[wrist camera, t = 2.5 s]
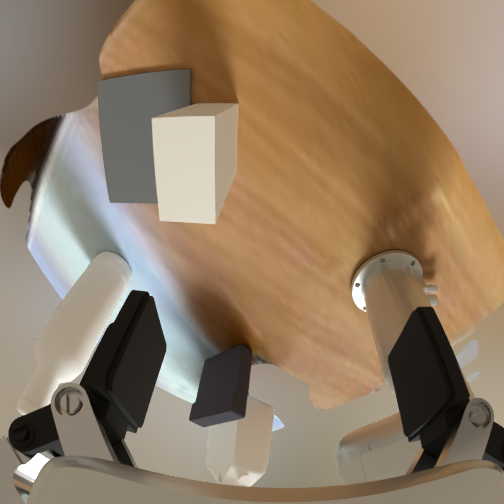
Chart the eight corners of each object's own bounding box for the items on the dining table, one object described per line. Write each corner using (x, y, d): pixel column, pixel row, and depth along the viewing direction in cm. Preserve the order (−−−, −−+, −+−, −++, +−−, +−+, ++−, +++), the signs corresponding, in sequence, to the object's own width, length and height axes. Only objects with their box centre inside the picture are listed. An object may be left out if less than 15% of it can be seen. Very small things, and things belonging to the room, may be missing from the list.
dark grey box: (216, 368, 60) (205, 429, 47) (202, 359, 58) (188, 420, 46) (255, 352, 55) (248, 419, 43) (240, 341, 54) (230, 410, 41)
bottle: (135, 259, 45) (45, 422, 20) (132, 292, 49) (61, 440, 24) (94, 244, 44) (-8, 387, 19) (94, 277, 48) (14, 412, 23)
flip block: (238, 103, 31) (214, 116, 19) (236, 173, 36) (215, 224, 24) (196, 103, 31) (151, 118, 20) (197, 171, 36) (159, 220, 25)
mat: (191, 69, 29) (189, 68, 28) (193, 203, 39) (192, 204, 38) (99, 81, 29) (97, 81, 29) (111, 200, 39) (109, 202, 39)
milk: (212, 402, 70) (196, 490, 48) (240, 391, 65) (228, 490, 43) (244, 417, 74) (235, 499, 52) (274, 407, 69) (269, 497, 47)
